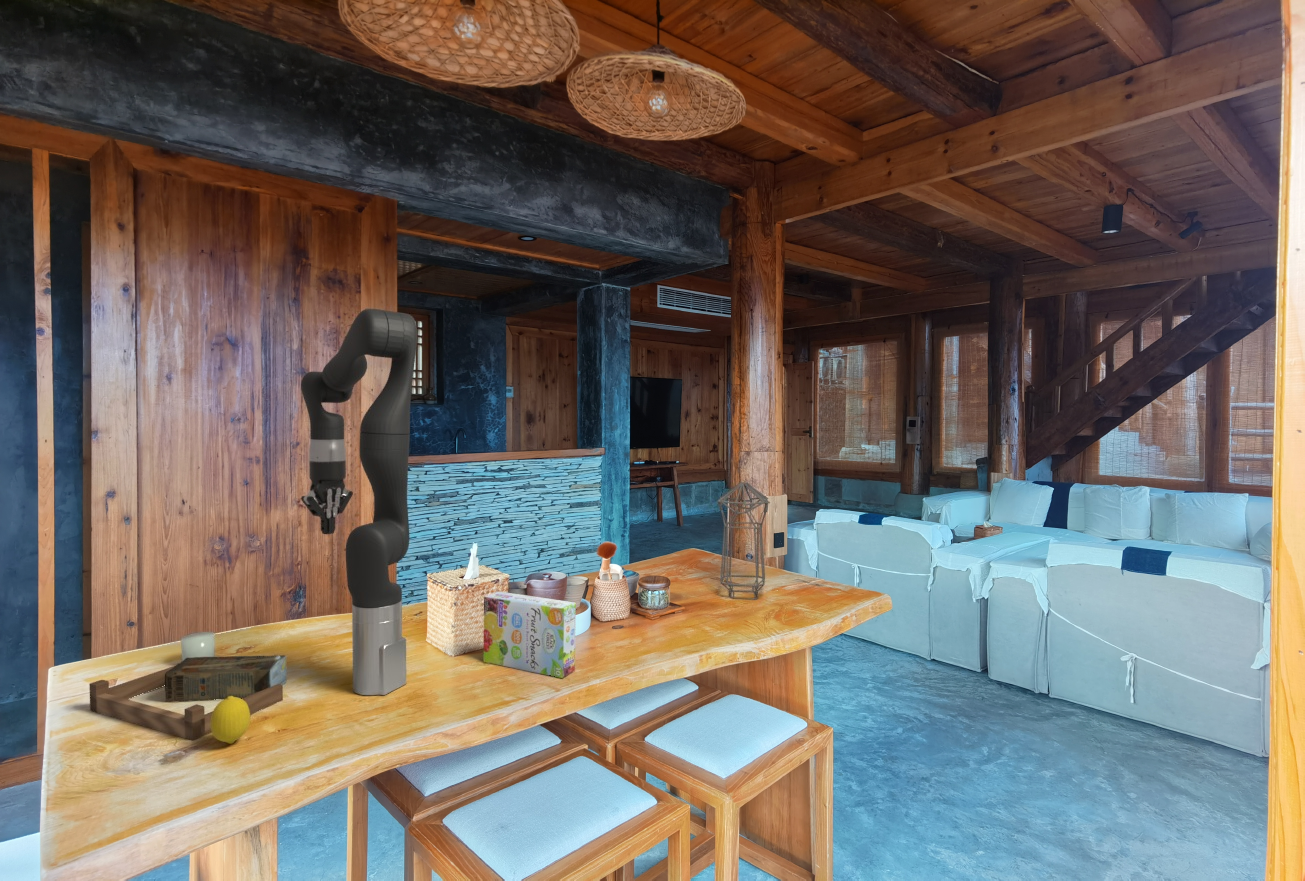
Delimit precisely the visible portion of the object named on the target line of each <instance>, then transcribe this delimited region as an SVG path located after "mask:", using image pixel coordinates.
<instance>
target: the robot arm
mask: <svg viewBox="0 0 1305 881" xmlns="http://www.w3.org/2000/svg"><path fill="white" fill-rule="evenodd" d="M417 345H418V329H417V323H416V320H415V317H414V316H412V315H411V314H409V313H405V312H399V311H393V310H392V311H391V310H386V309H385V310H384V309H380V308H379V309H378V308H365V309H363V310H361V311H360V312H359V313H358V314H357V315H356V317H355V318H354V319H353V321H352V324H351V325H350V327H349V329H348V332H347V334H346V336H345V337H344V338H343V342H342V343H341V346H340V348H339V349H338V351H337V352H336V354H335V355H334V356H333V357H332V358H331V359H330V360H329V361H328V362H327V363H326V364H325V365H324V367H323V369H322V371H309V372H306V373H305V374H304V375H303V377H302V379H301V382H300V389H301V390H300V391H301V394H302V398H303V400H304V404H305V407H306V409H307V414H308V419H309V424H310V425H309V427H310V431H309V432H310V434H309V436H310V438H309V439H310V441H309V449H308V451H309V452H308V453H309V455H308V456H309V458H308V461H309V463H308V464H309V466H308V467H309V468H308V470H309V471H308V472H309V473H308V474H309V479H310V481H311V484H310V487H309V491H310V492H308V493H307V494H306V495H302V496H301V498H300V499H301V502H302V503H303V504H304V505H305V507H306V508H307V510H308V511H309V512H310V514H312V516H314V517H318V518H320V532H321V533H322V534H323V535H332V534H334V533H335V530H336V517H337V516H338V515H339V514H343V512H344V510H345V509H346V507H347V505H348V504H349V502H350V501H351V498H353V495H354V493H353V490H348V489H347V488H346V484H345V481H344V480H345V479H346V477H347V475H346V474H347V472H346V470H347V469H346V468H347V465H346V464H347V461H346V459H347V458H346V455H347V454H346V443H345V418H344V417H343V415H342V414H339V413H334V412H329V411H327V410H326V409H325V408H324V407H323V404H324V403H325V404H326V403H327V404H342V403H346V402H347V401H349V400H350V399H351V397H352V396H353V395H352V394H353V389H354V387H355V385H356V384H358V382H359V381H361V380H362V378H363V377H364V376H365V375H366V372H367V370H368V361H367V358H366V356H371V357H374V358H375V357H377V358H384V359H385V358H387V359H391V364H390V370H389V373H388V378H387V380H386V382H385V385H384V386H383V388H382V390H381V391H380V393H379V394H378V396H377V397H376V398H375V399H374V401H373V402H372V404H371V405H370V407H368V409H367V411H366V412H365V414H364V416H363V418H362V420H361V421H360V428H359V448H358V449H359V459H360V463H361V466H362V468H363V470H364V473H365V475H366V477H367V480H368V482H369V484H370V486H371V489H372V492H373V502H374V503H373V505H374V506H373V519H372V522H370V523H367V524H366V523H365V524H362V525H360V526H356V527H355V528H353V530H351V532H350V533H349V535H348V536H347V539H346V544H345V569H346V584H347V589H348V592H349V595H350V596H351V604H352V605H351V606H352V608H351V609H352V610H351V611H352V612H351V613H352V614H351V615H352V618H351V619H352V622H351V623H352V625H351V626H352V627H351V628H352V632H351V633H352V637H351V638H352V690H353V692H354V693H355V694H358V695H361V696H362V695H363V696H375V695H380V696H381V695H382V696H386V695H387V694H389V693H391V692H393V691H395V690H397V689H398V688H401V687H403V686H406V685H407V638H406V637H403V590H402V587H401V585H400V584H398V583H396V582H391V580H390V574H389V571H390V570H389V566H392V565H393V564H396V563H398V562H400V561H401V560H403V559H404V557H405V556H406V554H407V553H408V550H409V545H410V524H409V523H410V522H409V509H408V508H409V506H408V479H409V478H408V474H409V473H408V472H409V456H410V455H409V453H410V440H411V439H410V436H411V434H410V432H411V430H410V429H411V401H412V400H411V398H412V386H413V385H412V384H413V378H414V376H413V375H414V370H415V363H416V355H417V354H416V353H417Z"/></svg>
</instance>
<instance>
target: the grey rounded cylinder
mask: <svg viewBox="0 0 1305 881" xmlns="http://www.w3.org/2000/svg"><path fill="white" fill-rule="evenodd" d="M180 639H181V640H180V642H181V662H182V661H184V660H185V659H186V658H193V657H216V635H215V633H214V632H212V631H200V632H199V631H198V632H194V633H189V634H187V635H185V636H182V637H181V638H180Z"/></svg>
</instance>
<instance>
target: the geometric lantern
mask: <svg viewBox="0 0 1305 881" xmlns="http://www.w3.org/2000/svg"><path fill="white" fill-rule="evenodd" d="M737 490H738V493H737V496H736V498H735V497H730V496H732V495H733V493H735V492H736V491H737ZM749 491H750V492H751V493H752V494H753V495H754V496H755V497H753V498H751V495H750V493H749ZM745 492H746V493H745ZM746 494H747V497H748V499H746ZM732 500H733V501H732ZM753 500H754V501H755V500H757V501H755V502H753ZM749 502H750V503H749ZM770 503H771V502H770V501H769V498H768V497H767V496H766V495H764V494H763V493H762V492H760V491H759V490H757V488H754V487H753V486H752V485H751V484H750V483H749V482H745V481H742V482H739V483H738V484H736V485H734V487H732V488H731V489H729V490H727V492H725V493H723V495H721V496H720V497H719V499H718V500H717V506H718V507H719V510H720V512H721V516H722V521H723V537H722V550H721V553H722V554H721V563H720V564H721V565H720V582H719V583H720V585H722V586H723V587H724V588H726V589H727V590H728V591H729V599H735V600H756V601H757V599H759V591H760V590H762V588H763V587H764V586H765V583H766V572H765V571H766V570H765V557H764V556H765V555H764V540H763V525H764V524H763V523H764V520H765V516H766V513H768V509H769V504H770ZM728 504H732V505H733V506H734V507H735V509H733V508H732V507H730V505H728ZM723 505H724V506H725V507H726V508H728V509H729V510H730V511H732V512H733V515H732V516H731V518H730V520H729V521H728V520H727V518H726V516H725V513H724V510H723ZM761 505H764V507H763V511H762V512H761V513H760V514H761V515H760V517H759V521H758V522H757V519H756V518H755V517H754V515H753V513H752V512H751V511H753V510H755V509H757V508H758V507H760V506H761ZM747 506H748V507H747ZM742 509H743V510H744V511H741V510H742ZM740 514H741V515H742V514H747V516H748V518H749V519H750V522H742V521H740V522H739V521H735V520H736V518H737V517H738V515H740ZM752 518H753V519H752ZM734 524H749V525H753V526H752V527H749V526H747V527H746V526H733V525H734ZM729 525H730V526H729ZM729 529H730V542H729ZM733 529H749V530H750V529H753V535H754V536H753V537H754V540H753V541H754V556H755V558H754V559H755V561H754V562H755V575H745V574H744V575H743V574H731V572H732V553H733V552H732V550H733ZM759 549H760V550H759ZM759 552H760V554H759ZM759 563H760V565H761V575H759V574H760V573H759V571H760V570H759V568H760V567H759V566H760V565H759ZM725 573H726V574H725ZM732 578H756V579H755V581H754V583H753V584H745V583H744V584H743V583H733V581H732ZM759 579H761V581H760V582H759ZM724 580H725V582H724ZM729 580H730V582H729ZM734 587H751V588H752V590H734ZM735 593H753V594H754V597H736V596H735Z"/></svg>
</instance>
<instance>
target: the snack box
mask: <svg viewBox="0 0 1305 881" xmlns="http://www.w3.org/2000/svg"><path fill="white" fill-rule="evenodd" d="M576 605H577V603H576V602H575V601H574V602H573V601H567V600H559V599H553V598H547V597H546V598H545V597H542V596H541V597H540V596H534V595H533V596H532V595H527V594H518V593H514V592H513V593H511V592H505V591H495V592H493V593H490V594H487V595H485V596H484V597H483V658H482V659H483V662H484V663H488V664H493V665H498V666H502V667H507V668H511V669H517V670H522V671H525V672H530V673H535V674H539V675H540V674H541V675H545V676H549V675H551V676H550V677H554V676H555V678H558V679H564V678H565V677H567V676H568V675H570V674H572V673H573V671H574V672H575V671H576V620H577V619H576V615H577V614H576V612H577V611H576V610H577V609H576V608H577V607H576ZM571 672H572V673H571ZM566 675H567V676H566Z"/></svg>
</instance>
